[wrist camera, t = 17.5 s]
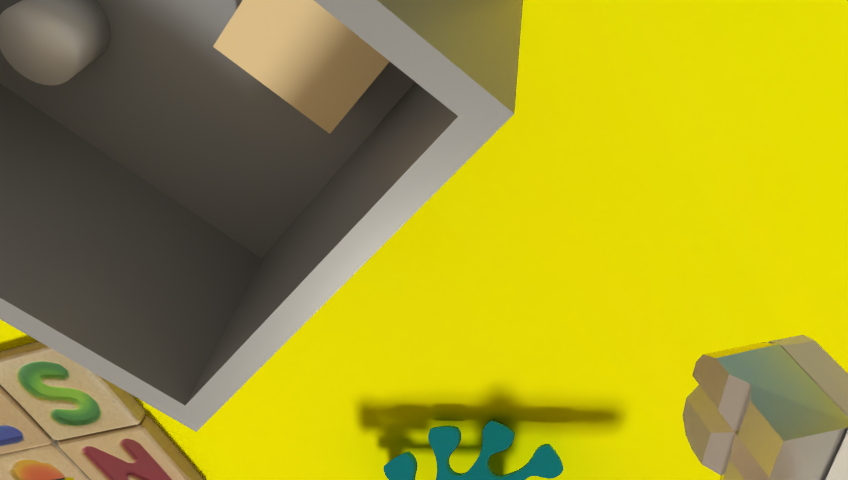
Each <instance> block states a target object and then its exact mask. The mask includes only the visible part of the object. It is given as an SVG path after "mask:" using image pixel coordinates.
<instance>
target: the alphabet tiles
mask: <svg viewBox="0 0 848 480" xmlns="http://www.w3.org/2000/svg"><path fill="white" fill-rule="evenodd" d="M65 477H73V478H74V480H204V479H203V477H202V476H201V475H200V474H199V473H198V471H197V470H196V469H195V468H194V467H193V465H192V464H191V463H190V462H189V461H188V460H187V459H186V457H185V456H184V455H183V454H182V453H181V452H180V451H179V449H178V448H177V447H176V446H175V445H174V444H173V442H172V441H171V440H170V439H169V438H168V437H167V436H166V434H165V433H164V432H163V431H162V430H161V429H160V428H159V426H158V425H157V424H156V423H155V422H154V421H153V420H152V419H151V418H150V417H148V416H147V415H146V413H145V410H144V409H143V408H142V407H141V405H140V404H139V403H138V402H137V401H136V400H135V398H134V397H133V396H132V395H131V394H130V393H128V392H126V391H125V390H123V389H121V388H119V387H118V386H116V385H114V384H112V383H111V382H109V381H107V380H105V379H104V378H102V377H100V376H98V375H97V374H95V373H93V372H91V371H90V370H88V369H86V368H85V367H83V366H81V365H79V364H78V363H76V362H74V361H72V360H71V359H69V358H67V357H65V356H64V355H62V354H60V353H58V352H57V351H55V350H53V349H51V348H50V347H48V346H46V345H44V344H43V343H41V342H39V341H37V342H34V343H30V344H26V345H23V346H19V347H15V348H12V349H8V350H4V351H1V352H0V480H53V479H59V478H65Z"/></svg>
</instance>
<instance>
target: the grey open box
mask: <svg viewBox="0 0 848 480" xmlns="http://www.w3.org/2000/svg"><path fill="white" fill-rule="evenodd" d="M522 5H523V0H0V319H1V320H3V321H4V322H6V323H8V324H10V325H11V326H13V327H15V328H17V329H18V330H20V331H22V332H24V333H25V334H27V335H29V336H31V337H32V338H34V339H36V340H38V341H39V342H41V343H43V344H44V345H46V346H48V347H50V348H51V349H53V350H55V351H57V352H58V353H60V354H62V355H64V356H65V357H67V358H69V359H71V360H72V361H74V362H76V363H78V364H79V365H81V366H83V367H85V368H86V369H88V370H90V371H91V372H93V373H95V374H97V375H98V376H100V377H102V378H104V379H105V380H107V381H109V382H111V383H112V384H114V385H116V386H118V387H119V388H121V389H123V390H125V391H126V392H128V393H130V394H131V395H133V396H135V397H137V398H138V399H140V400H142V401H144V402H145V403H147V404H149V405H151V406H152V407H154V408H156V409H158V410H159V411H161V412H163V413H165V414H166V415H168V416H170V417H171V418H173V419H175V420H177V421H178V422H180V423H182V424H184V425H185V426H187V427H189V428H191V429H192V430H194V431H196V432H197V431H198V430H199V429H200V428H201V427H202V426H203V425H204V424H205V423H206V422H207V421H208V420H209V419H210V418H211V417H212V416H213V415H214V414H215V413H216V412H217V411H218V410H219V409H220V408H221V407H222V406H223V405H224V404H225V403H226V402H227V401H228V400H229V399H230V398H231V397H232V396H233V395H234V394H235V393H236V392H237V391H238V390H239V389H240V388H241V387H242V386H243V385H244V384H245V383H246V382H247V381H248V380H249V379H250V378H251V377H252V376H253V375H254V374H255V373H256V372H257V371H258V370H259V369H260V368H261V367H262V366H263V365H264V364H265V363H266V362H267V361H268V360H269V359H270V358H271V357H272V356H273V355H274V354H275V353H276V352H277V351H278V350H279V349H280V348H281V347H282V346H283V345H284V344H285V343H286V342H287V341H288V340H289V339H290V338H291V337H292V336H293V335H294V334H295V333H296V332H297V331H298V330H299V329H300V328H301V327H302V326H303V325H304V324H305V323H306V322H307V321H308V320H309V319H310V318H311V317H312V316H313V315H314V314H315V313H316V312H317V311H318V310H319V309H320V308H321V307H322V306H323V305H324V304H325V303H326V302H327V301H328V300H329V299H330V298H331V297H332V296H333V295H334V294H335V293H336V292H337V291H338V290H339V289H340V288H341V287H342V286H343V285H344V284H345V283H346V282H347V281H348V280H349V279H350V278H351V277H352V276H353V275H354V274H355V273H356V272H357V271H358V270H359V269H360V268H361V267H362V266H363V265H364V264H365V263H366V262H367V261H368V260H369V259H370V258H371V257H372V256H373V255H374V254H375V253H376V252H377V251H378V250H379V249H380V248H381V247H382V246H383V245H384V244H385V243H386V242H387V241H388V240H389V239H390V238H391V237H392V236H393V235H394V234H395V233H396V232H397V231H398V230H399V229H400V228H401V227H402V226H403V225H404V224H405V223H406V222H407V221H408V220H409V219H410V218H411V217H412V216H413V215H414V214H415V213H416V212H417V211H418V210H419V209H420V208H421V207H422V206H423V205H424V204H425V203H426V202H427V201H428V200H429V199H430V198H431V197H432V196H433V195H434V194H435V193H436V192H437V191H438V190H439V189H440V188H441V187H442V186H443V185H444V184H445V183H446V182H447V181H448V180H449V179H450V178H451V176H452V175H453V174H454V173H455V172H456V171H457V170H458V169H459V168H460V167H461V166H462V165H463V164H464V163H465V162H466V161H467V160H468V159H469V158H470V157H471V156H472V155H473V154H474V153H475V152H476V151H477V150H478V149H479V148H480V147H481V146H482V145H483V144H484V143H485V142H486V141H487V140H488V139H489V138H490V137H491V136H492V135H493V134H494V133H495V132H496V131H497V130H498V129H499V128H500V127H501V126H502V125H503V124H504V123H505V122H506V121H507V120H508V119H509V118H510V117H511V116H512V115H513V114H514V110H515V97H516V84H517V71H518V57H519V44H520V31H521V18H522Z"/></svg>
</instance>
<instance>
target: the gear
mask: <svg viewBox="0 0 848 480" xmlns="http://www.w3.org/2000/svg"><path fill="white" fill-rule="evenodd" d="M514 436H515V433H514V432H513V431H512V430H511V429H510V428H509V427H507V426H506V425H504V424H502V423H500V422H497V421H494V420H491V421H490V422H488V423H487V424H486V426H485V427H484V429H483V443H482V449H481V452H480V455H479V457H478V459H477V461H476V462H475V463H474V465H473V466H472V467H471V468H470V470H469V471H468V472H466V473H462V474H461V473H456V472H455V471H453V470H452V469H451V467H450V465H449V457H450V455H451V453H452V452H453V451H454V450H455V449H456V448H457V446H458V445H459V443H460V441H461V432H460V430H459V428H458V427H455V426H440V427H434V428H432V429H430V432H429V436H428V438H429V443H430V445H431V447H432V449H433V451H434V453H435V456H436V460H437V478H436V480H525V479H526V478H528V477H530V476H539V477H544V478H554V477H557V476H558V475H560V474H561V473H562V471H563V465H562V462H561V460H560V458H559V456H558V454H557V453H556V451H555V450H554V449H553V448H552V447H551V445H550V444H544V445H541V446H540V447H538V449H537V450H536V451H535V453H534V455H533V457H532V458H531V459H530V461H529V462H528V463H527V464H526V465H525V466H524V467H522V468H520V469H519V470H517V471H514V472H512V473H509V474H506V475H496V474H494V473H493V472H492V471H491V470H490V468H489V464H488V461H489V458H490V456H491V455H492V454H494V453H497V452H500V451H503V450H505V449H507V448H508V447H509V446H510V445H511V444H512V442H513V440H514ZM416 471H417V461H416V459H415V457H414V455H413V454H412V453H410V452H406V453H403V454H401V455H399V456H397V457H395V458H394V459H392V460H391V461H390V462H388V463H387V464H386V465H385V466H384V472H385V475H386V476H387V478H388V479H389V480H415V476H416Z"/></svg>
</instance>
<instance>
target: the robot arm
mask: <svg viewBox="0 0 848 480" xmlns="http://www.w3.org/2000/svg"><path fill="white" fill-rule="evenodd" d="M693 377H694V378H695V379H696V381H697V382H698V383H699V385H698V387H697V388H696V389H695V390H694V391H693V392H692V393H691V394H690V395H689V396H688V397H687V398H686V402H685V407H684V412H683V420H684V426H685V433H686V436H687V438H688V441H689V443H690V446H691V448H692V450H693V451H694V453H695V455H696V456H697V458H698V459H699V461H700V462H701V464H702V465H704V466H706V467H708V468H709V469H711V470H713V471H715V472H716V473H718V474H720V475H721V479H720V480H848V373H847V372H846V371H845V370H844V369H843V368H842V367H841V366H840V365H839V364H838V363H837V362H836V361H835V360H834V359H833V358H832V357H831V356H830V355H829V354H828V353H827V352H826V351H825V350H824V349H823V348H822V347H821V346H820V345H819V344H818V343H817V342H816V341H814V340H813V339H811V338H809V337H807V336H805V335H800V336H795V337H790V338H785V339H779V340H774V341H770V342H762V343H757V344H752V345H747V346H742V347H737V348H732V349H727V350H723V351H718V352H713V353H708V354H703V355H702V356H701V357H700V358H699V359H698V361H697V362H696V365H695V368H694V372H693ZM53 480H74V478H73V477H65V478H59V479H53Z"/></svg>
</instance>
